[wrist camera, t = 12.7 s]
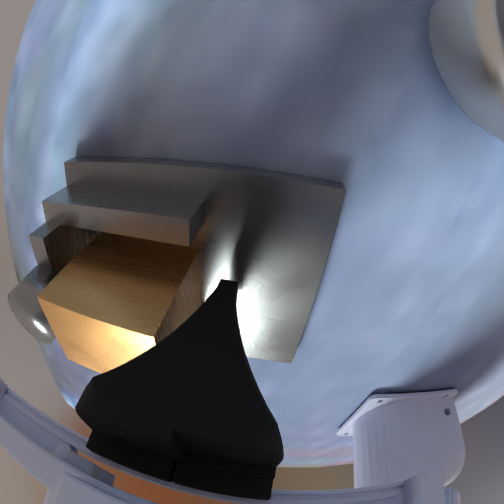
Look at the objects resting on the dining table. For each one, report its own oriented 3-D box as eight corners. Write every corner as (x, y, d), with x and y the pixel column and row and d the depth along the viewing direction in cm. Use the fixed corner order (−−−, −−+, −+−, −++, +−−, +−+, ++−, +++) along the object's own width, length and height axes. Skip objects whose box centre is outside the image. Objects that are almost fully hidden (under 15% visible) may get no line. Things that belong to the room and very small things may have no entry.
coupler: (342, 183, 10) (388, 273, 5) (291, 352, 15) (286, 444, 10) (63, 157, 10) (-27, 206, 6) (95, 308, 16) (51, 373, 11)
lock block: (201, 245, 11) (153, 337, 7) (201, 309, 13) (168, 396, 9) (100, 228, 11) (32, 294, 7) (112, 288, 13) (64, 357, 9)
